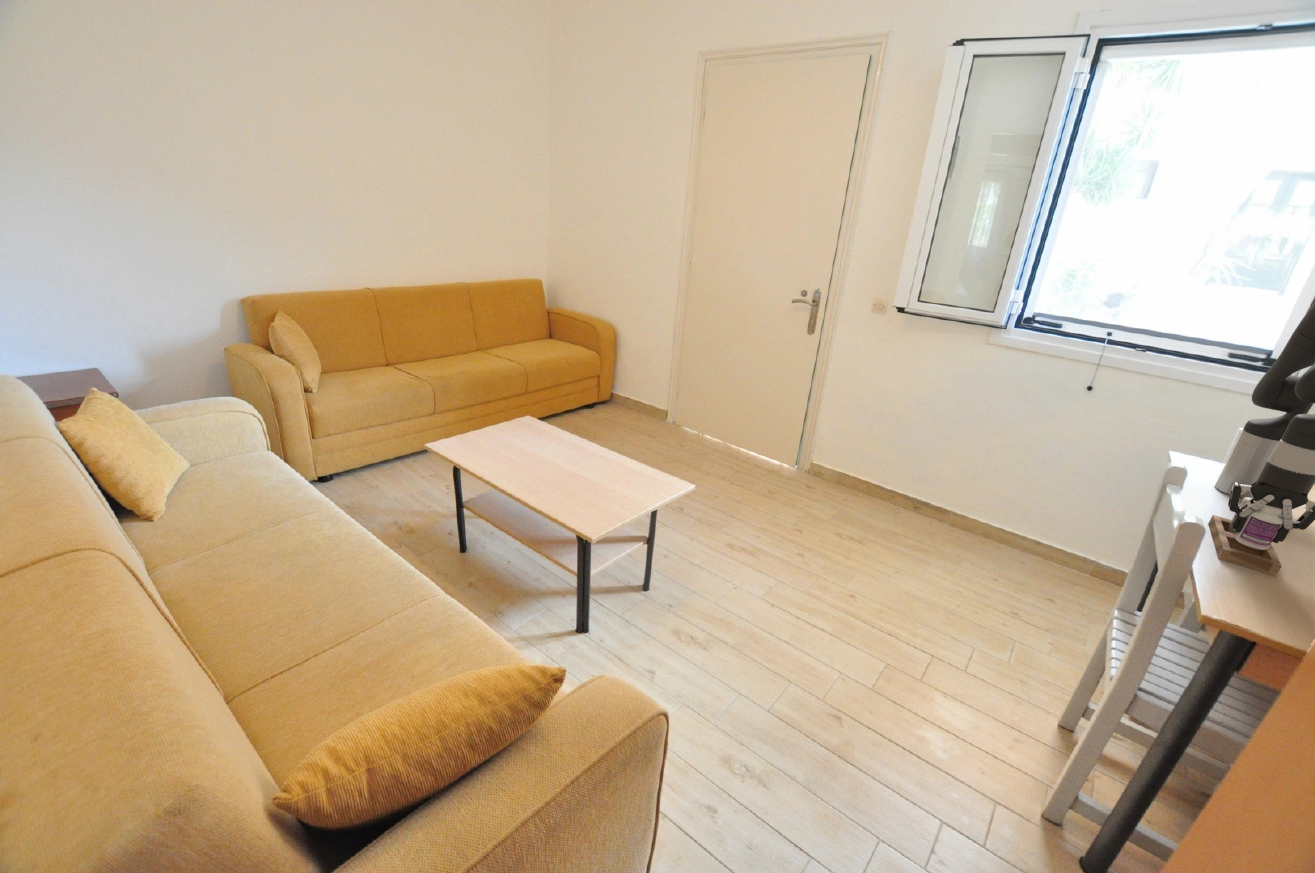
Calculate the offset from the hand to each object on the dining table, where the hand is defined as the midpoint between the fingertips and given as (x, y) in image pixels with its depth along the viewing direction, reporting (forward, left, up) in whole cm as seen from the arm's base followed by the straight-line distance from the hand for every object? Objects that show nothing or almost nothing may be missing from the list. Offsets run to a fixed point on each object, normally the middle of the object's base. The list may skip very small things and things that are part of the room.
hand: (1254, 535), depth 121 cm
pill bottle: (0, 0, -2) cm, 2 cm away
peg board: (-5, 0, -6) cm, 7 cm away
